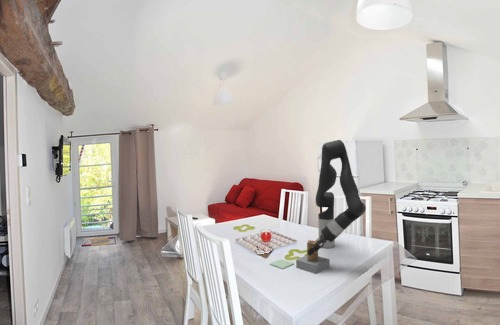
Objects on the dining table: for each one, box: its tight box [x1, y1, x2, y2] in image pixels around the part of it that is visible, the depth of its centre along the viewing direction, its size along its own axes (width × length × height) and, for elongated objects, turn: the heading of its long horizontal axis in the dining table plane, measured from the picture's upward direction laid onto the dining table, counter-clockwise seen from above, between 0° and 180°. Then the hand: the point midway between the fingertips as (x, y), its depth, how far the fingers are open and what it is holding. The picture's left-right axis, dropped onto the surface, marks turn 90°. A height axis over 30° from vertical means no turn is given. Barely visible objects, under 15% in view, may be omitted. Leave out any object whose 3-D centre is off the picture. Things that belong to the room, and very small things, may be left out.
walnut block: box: [306, 239, 319, 261], centre depth 165 cm, size 5×5×9 cm
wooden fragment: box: [256, 250, 273, 259], centre depth 193 cm, size 26×11×1 cm, turn 176°
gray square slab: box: [295, 255, 331, 275], centre depth 165 cm, size 12×12×4 cm
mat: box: [269, 258, 295, 270], centre depth 170 cm, size 9×9×1 cm
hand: (309, 252), depth 166 cm, fingers closed on walnut block, 5 cm apart
